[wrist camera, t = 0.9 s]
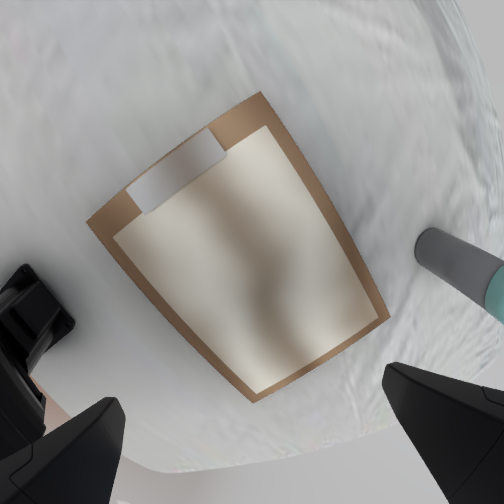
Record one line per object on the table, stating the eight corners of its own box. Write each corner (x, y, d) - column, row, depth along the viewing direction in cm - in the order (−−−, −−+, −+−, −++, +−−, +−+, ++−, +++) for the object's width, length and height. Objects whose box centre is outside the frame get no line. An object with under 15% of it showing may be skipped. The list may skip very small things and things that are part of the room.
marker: (421, 275, 24) (510, 342, 13) (409, 242, 22) (509, 304, 12) (449, 252, 23) (540, 306, 13) (439, 219, 22) (541, 266, 12)
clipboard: (252, 400, 25) (254, 412, 24) (87, 220, 19) (78, 226, 17) (388, 314, 24) (397, 324, 23) (259, 92, 18) (263, 87, 16)
